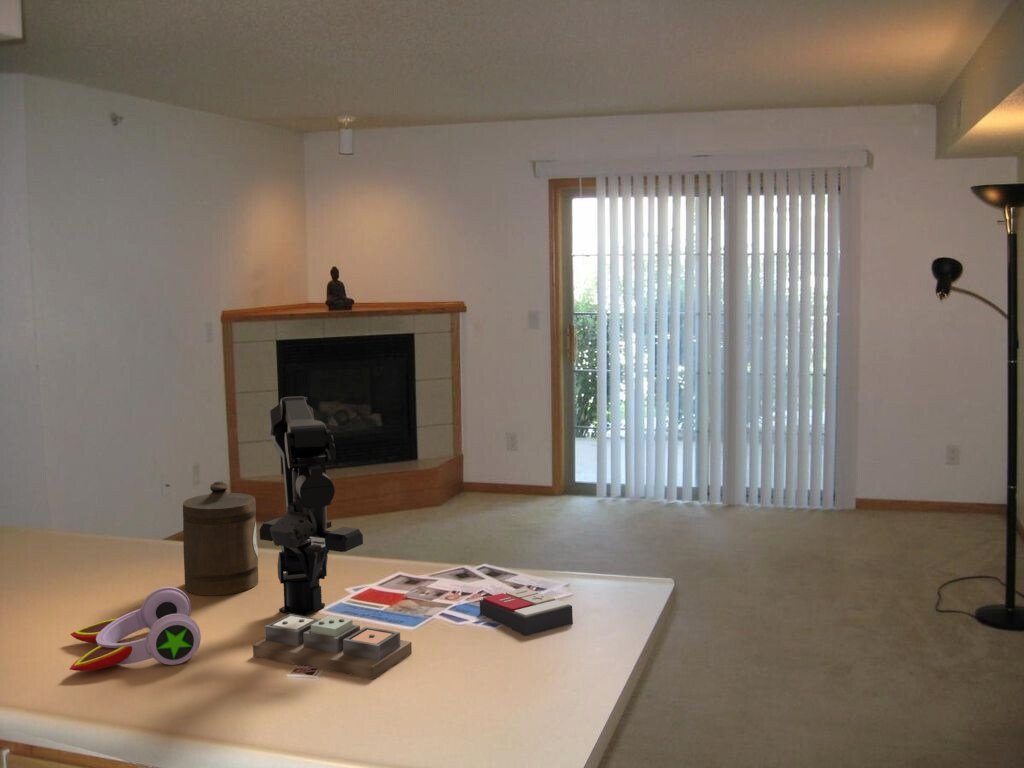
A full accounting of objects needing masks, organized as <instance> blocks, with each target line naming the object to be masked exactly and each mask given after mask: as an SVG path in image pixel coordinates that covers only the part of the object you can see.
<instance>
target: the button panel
mask: <svg viewBox="0 0 1024 768" xmlns="http://www.w3.org/2000/svg"><path fill="white" fill-rule="evenodd" d="M289 616H295V617H301V618H307V619H313V620H314V621H313V622H311V623H310V624H308V625H306V626H304V627H302V628H300V629H298V630H292V629H286V628H281V627H275V626H273V625H274V624H275V623H277V622H279V621H281V620H283V619H285V618H287V617H289ZM321 619H322V618H316V617H309V616H303V615H297V614H291V613H288V614H287V615H285V616H282V617H281V618H279V619H277V620H275V621H273V622H271V623H268V624H267V625H264V635H265V637H264V639H262V640H259V641H258V642H256V643H254V644H253V645H252V653H253V654H252V655H253V656H252V657H255V658H260V659H265V660H271V661H275V662H280V663H286V664H292V665H297V666H301V665H302V666H303V667H306V666H308V668H312V669H317V670H323V671H326V672H327V671H329V672H333V673H338V674H344V675H349V676H354V677H361V678H364V679H369V680H370V679H371V680H374V679H376V678H377V677H379V676H380V675H382V674H384V673H385V672H386V671H388V670H389V669H390V668H392V667H395V665H396V664H398V663H399V662H401V661H403V660H404V659H405V658H407V657H408V656H410V655H412V653H413V652H412V651H413V650H412V648H413V647H412V645H413V644H412V641H409V640H402V639H401V632H400V631H395V630H388V629H385V628H378V627H372V626H371V627H370V626H364V627H363V628H361V625H359V624H353V628H351V629H349V630H348V631H346V632H344V633H342V634H341V635H339V636H337V637H333V636H327V635H321V634H315V633H311V625H312V624H314V623H315V622H317V621H319V620H321ZM366 630H373V631H379V632H385V633H391V634H393V635H391V636H389V637H388V638H386V639H385V640H383V641H381V642H380V643H378V644H373V643H367V642H362V641H356V640H351V639H352V638H354V637H356V636H357V635H359V634H361V633H363V632H364V631H366Z"/></svg>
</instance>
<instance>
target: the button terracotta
mask: <svg viewBox="0 0 1024 768" xmlns="http://www.w3.org/2000/svg"><path fill="white" fill-rule="evenodd" d="M391 635H393V634H391V633H385V632H379V631H373V630H366V631H364V632H363V633H361V634H359V635H357V636H356V637H354V638H352V639H351V640H356V641H362V642H367V643H373V644H378V643H380V642H381V641H383V640H385V639H386V638H388V637H389V636H391Z"/></svg>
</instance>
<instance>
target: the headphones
mask: <svg viewBox="0 0 1024 768" xmlns="http://www.w3.org/2000/svg"><path fill="white" fill-rule="evenodd" d="M190 601H191V600H190V599H189V597H188V595H187V594H186V593H185V592H184V591H183V590H181V589H180V588H177V587H174V586H163V587H158V588H157V589H155V590H153V591H151V592H150V593H149V594H148V595H147V596H146V597H145V599H144V601H143V603H142V605H141V608H138V609H135V610H133V611H131V612H129V613H126V614H124V615H122V616H120V617H117V618H112V619H107V620H104V621H100V622H97V623H95V624H90V625H88V626H86V627H82V628H80V629H78V630H76V631H73V632H71V633H70V636H71V637H73V638H74V639H75V640H78V641H81V642H85V643H90V644H97V647H95V648H93V649H91V650H90V651H88V652H87V653H86V654H83V655H82V656H81V657H80V658H78V659H77V660H76V661H75V662H74V663H72V665H71V666H70V668H69V670H70V671H71V670H72V671H76V672H87V671H90V672H91V671H96V670H100V669H106V668H110V667H113V666H115V665H131V664H135V663H140V662H144V661H149V660H150V659H154V660H156V661H157V662H159V663H161V664H164V665H171V666H173V665H174V666H175V665H179V664H183V663H185V662H186V661H187V662H188V661H189V659H191V658H192V657H193V656H194V655H195V653H197V650H198V649H199V646H200V645H201V644H200V643H201V639H202V636H201V635H202V634H201V630H200V627H199V625H198V623H197V622H196V621H195V620H194V619H193V618H192V617H191V612H192V606H191V605H192V604H191V602H190ZM145 628H148V630H149V631H148V632H147V636H146V637H143V638H140V639H136V640H133V641H128V642H120V641H121V640H122V639H125V638H127V637H128V636H130V635H132V634H133V633H136V632H138V631H140V630H143V629H145Z"/></svg>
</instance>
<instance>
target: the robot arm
mask: <svg viewBox="0 0 1024 768" xmlns="http://www.w3.org/2000/svg"><path fill="white" fill-rule="evenodd" d="M314 417H315V416H314V409H313V407H311V406H310V404H309V399H308V397H307V396H306V397H305V396H304V395H303V396H301V395H300V396H284V397H282V398H280V401H279V404H277V405H276V406H275V407H273V408H271V409H270V411H269V414H268V435H269V437H272V443H273V444H272V445H273V447H274V449H275V450H276V451H277V453H278V454H279V455H280V457H281V458H282V468H283V479H284V480H283V482H284V494H285V504H286V505H285V506H286V507H285V508H286V514H284V515H283V516H281V517H277V518H274V519H272V520H269V521H266V522H262V524H261V527H260V528H259V540H262V541H269V542H273V544H274V546H277V547H281V549H280V550H281V551H278V557H277V578H278V580H279V583H280V584H283V604H284V605H283V606H282V607H280V608H278V611H279V613H280V612H281V613H286V614H293V615H299V616H305V617H307V616H308V615H310V614H312V613H314V612H316V611H318V610H320V609H323V608H324V607H326V603H324V602H322V601H323V599H322V586H321V585H320V580H325V579H326V577H327V574H328V573H327V572H328V571H327V568H328V567H327V565H328V558H329V557H328V554H329V552H330V551H331V552H332V551H333V552H337V553H338V552H339V553H344V552H345V553H346V552H348V551H350V550H353V549H355V548H357V547H359V546H362V545H363V544H364V539H363V537H364V534H363V532H362V531H361V530H360V528H355V527H349V526H348V527H347V526H341V527H339V528H337V529H334V530H328V529H330V528H332V521H329V520H327V516H328V515H327V506H330V505H331V504H332V500H333V499H334V496H335V493H336V491H335V486H334V484H333V482H332V480H331V479H330V477H329V476H328V475H327V469H326V467H333V466H335V460H337V451H336V446H335V445H336V444H335V440H334V439H335V438H334V435H332V431H331V430H330V429H327V425H326V424H325V423H324V422H323V421H322V420H317V419H316V420H315V418H314Z"/></svg>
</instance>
